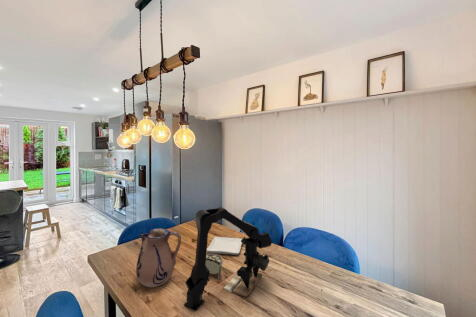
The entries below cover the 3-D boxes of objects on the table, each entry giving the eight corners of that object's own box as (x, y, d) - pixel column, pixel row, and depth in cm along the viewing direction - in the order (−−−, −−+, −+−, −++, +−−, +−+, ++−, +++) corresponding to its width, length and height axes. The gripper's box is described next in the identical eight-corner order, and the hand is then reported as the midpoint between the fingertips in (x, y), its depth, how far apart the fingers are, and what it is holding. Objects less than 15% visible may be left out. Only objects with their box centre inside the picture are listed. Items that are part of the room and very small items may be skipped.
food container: (227, 275, 114) (227, 256, 114) (220, 281, 109) (220, 262, 108) (208, 268, 120) (208, 251, 120) (201, 274, 115) (201, 255, 115)
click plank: (246, 296, 96) (246, 293, 96) (233, 293, 100) (233, 290, 100) (262, 275, 112) (262, 273, 112) (250, 273, 116) (250, 271, 116)
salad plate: (239, 257, 133) (239, 252, 133) (205, 255, 137) (205, 249, 136) (243, 243, 154) (243, 238, 154) (214, 241, 157) (214, 236, 157)
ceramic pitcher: (137, 275, 113) (137, 228, 112) (179, 268, 121) (179, 223, 120) (134, 297, 97) (133, 242, 96) (183, 286, 105) (182, 235, 103)
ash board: (231, 292, 100) (231, 289, 100) (223, 289, 102) (223, 287, 102) (248, 273, 116) (248, 270, 116) (241, 271, 118) (241, 268, 118)
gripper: (258, 263, 93) (259, 299, 93) (273, 246, 109) (274, 276, 110) (236, 257, 98) (236, 291, 99) (253, 242, 114) (254, 270, 115)
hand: (251, 282), depth 105 cm, fingers open, 9 cm apart
